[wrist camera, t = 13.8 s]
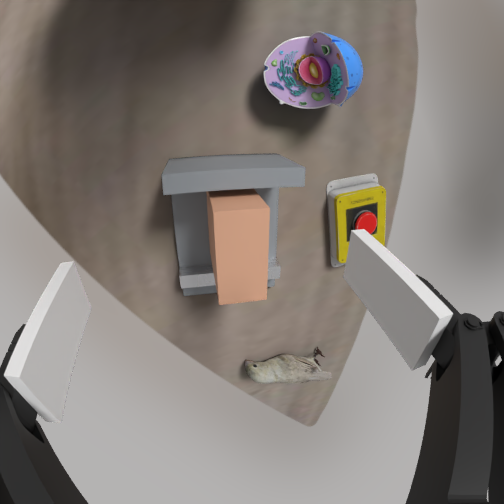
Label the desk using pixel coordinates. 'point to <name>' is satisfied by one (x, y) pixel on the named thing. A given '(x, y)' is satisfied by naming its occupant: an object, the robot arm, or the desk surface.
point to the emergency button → (354, 212)
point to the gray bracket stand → (222, 178)
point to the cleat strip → (205, 275)
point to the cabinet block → (238, 244)
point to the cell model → (313, 71)
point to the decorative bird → (286, 369)
